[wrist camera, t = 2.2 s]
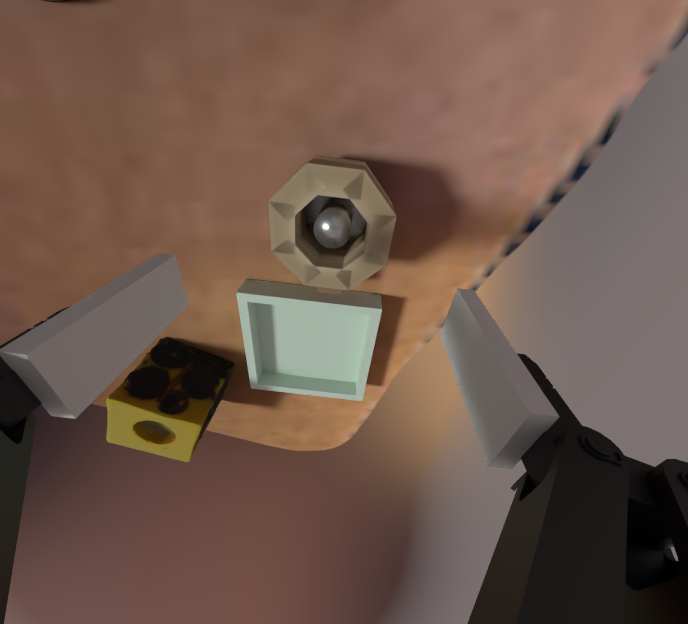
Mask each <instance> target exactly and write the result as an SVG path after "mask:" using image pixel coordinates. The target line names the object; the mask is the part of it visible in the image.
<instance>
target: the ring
mask: <svg viewBox="0 0 688 624" xmlns="http://www.w3.org/2000/svg"><path fill="white" fill-rule="evenodd" d="M317 195H321V196H330V197H338V198H347V199H350V200H351V201H352V203H353V204H354V205H355V207H356V208H357V209H358V211H359V212H360V213H361V215H362V216H363V217H364V219H365V220H366V224H365V231H364V232H363V233H362V234H360V235H359V236H358V237H357V238H355V239H354V240H353V241H351V242H350V243H349V244H347V245H346V246H344V245H343V246H341V247H339V248H327V247H325V246H323V245H321V244H320V243H319V242H318V241H317V239H316V237H315V235H314V233H313V231H312V230H311V229H310V228H309V227H308V226H307V204H308V203H309V202H310V201H311V200H313V199H314V198H315V197H316V196H317ZM268 202H269V219H270V236H271V252H272V253H273V254H274V255H275V256H276V257H277V258H278V259H279V260H280V261H281V262H282V263H283V264H284V265H285V266H286V267H287V268H288V269H289V270H290V271H291V272H292V273H293V274H294V275H295V276H296V277H297V278H298V279H299V280H300V281H301V282H302V283H303V284H304V285H306V286H315V287H317V292H323V293H332V294H340V295H342V290H351V289H352V288H354V287H355V286H357V285H358V284H360V283H361V282H363V281H364V280H366V279H367V278H369V277H370V276H372V275H373V274H374V273H376V272H377V271H379V270H380V269H382V268H383V267H385V266H386V265H387V261H388V256H389V251H390V247H391V242H392V237H393V232H394V227H395V222H396V217H397V216H396V213H395V210H394V208H393V205H392V202H391V200H390V198H389V197H388V195H387V194H386V192H385V191H384V189H383V188H382V186H381V185H380V183H379V182H378V180H377V179H376V177H375V176H374V175H373V173H372V172H371V170H370V169H369V167H368V166H367V164H366V163H365V161H359V160H351V159H342V158H334V157H325V156H317V157H315V158H314V159H312V160H311V161H309V162H308V163H306V164H305V165H304V166H303V167H302V168H301V169H300V170H299V171H298V172H297V173H296V174H295V175H294V176H293V177H292V178H291V179H290V180H289V181H288V182H287V183H286V184H285V185H284V186H283V187H282V188H281V189H280V190H279V191H278V192H277V193H276V194H275V195H274V196H273V197H272V198H271V199H270V200H269V201H268Z"/></svg>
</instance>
